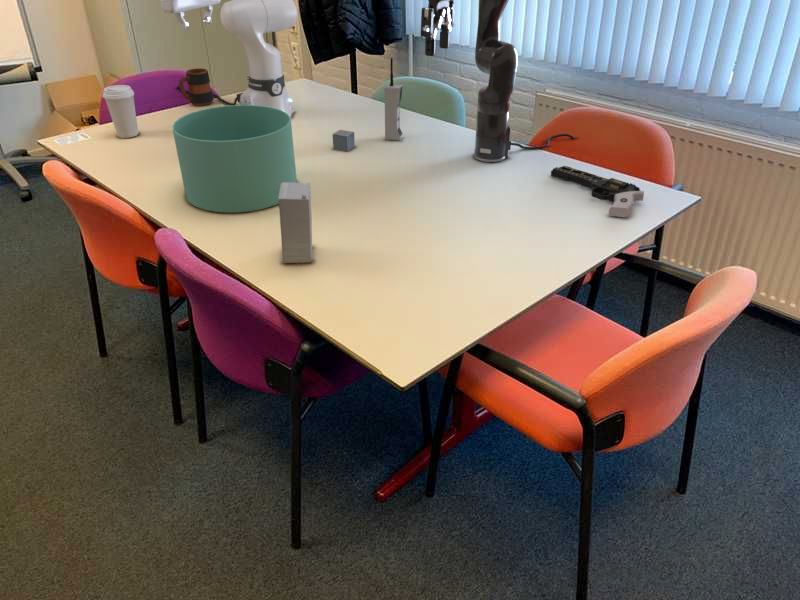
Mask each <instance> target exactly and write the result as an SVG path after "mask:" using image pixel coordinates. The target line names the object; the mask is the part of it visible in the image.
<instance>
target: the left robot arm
mask: <svg viewBox="0 0 800 600" xmlns="http://www.w3.org/2000/svg"><path fill="white" fill-rule="evenodd" d="M159 1H160V7H161V9H162V10H163V12H164V13H165V14H173V15H174V18H175V19H176V20H177V22H178V23H179V28H180V30H182V31H186V30H189V29H190V26H189V21H186V19H185V12H188V11H193V10H196V9H201V8H203V10H204V16H202V21H203V24H204V25H210V24H212V23H213V21H212V16H213V12H214V7H213V6H214V5H219V4H220V3H221V1H222V0H159ZM221 6H222V7H221V9H220V14H219V16H220V22H221V24H222V27H223V28H224V29H225V31H226V32H227V33H228V34H230V35H231V36H233V37H234V38H235V39H236V40H237V41H238V42H239V43H240V44H241V46H242V48H243V50H244V52H245V56H246V60H247V65H248V72H249V75H248V76H246V78H247V79H246V80H247V81H248V82H247V88H246V89H245V90H244V91H243V92H240V93H236V97H235V98H234V101H233V103H230V102H229V101H226V100H225V99H224V98H221V97H220V96H219V95H218V94H215V93H212V94H213V98H217V99H218V100H219V101H220V102H222V103H223V104H225V105H226V106H229V105H237V104H239V105H258V106H267V107H272V108H276V109H279V110H282V111H284V112H285V113H287V114H288V115H289V116H290V118H292V115H293V114H294V112H295V110H294V108H292V107H291V103H292V102H293V99H292V98H290V95H289V91H288V89H287V88H286V87H285V86H286V80H285V79H286V78H285V75H284V74H283V65H282V54H281V52H280V50H279V49H278V48H277V47H276V46H274V45H272V44H270V43H268V42H266V41H265V39H264V34H267V33H275V32H281V31H282V32H283V31H285V30H287V29H290V28H292V27H294V26H295V24H296V21H297V18H298V10H297V7H296V3H295V2H294V1H293V0H229V1H226V2H224V3H223V4H222V5H221ZM176 90H180V88H179V85H177V86H176ZM185 91H186V93H187V94H189V90H187V89H185Z"/></svg>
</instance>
